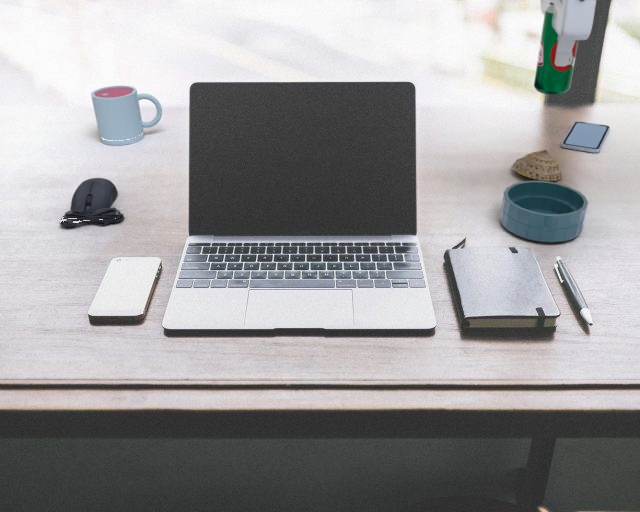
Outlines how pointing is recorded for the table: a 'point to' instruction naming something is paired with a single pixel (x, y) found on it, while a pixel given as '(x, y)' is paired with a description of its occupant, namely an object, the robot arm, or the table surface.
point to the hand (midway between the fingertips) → (556, 59)
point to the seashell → (538, 166)
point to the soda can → (552, 61)
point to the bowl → (543, 211)
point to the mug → (121, 114)
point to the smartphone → (586, 137)
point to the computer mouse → (94, 203)
